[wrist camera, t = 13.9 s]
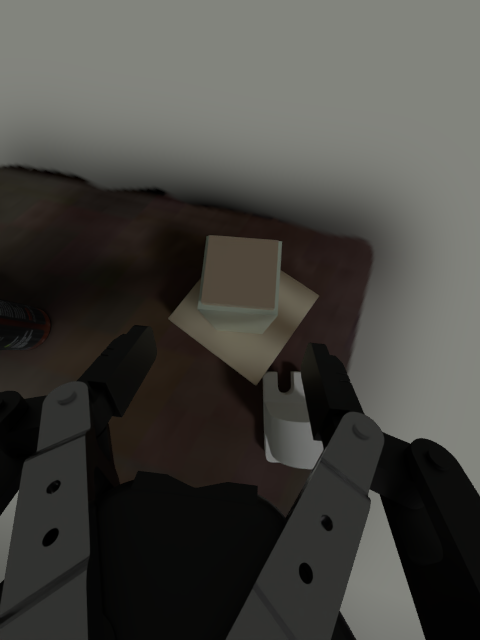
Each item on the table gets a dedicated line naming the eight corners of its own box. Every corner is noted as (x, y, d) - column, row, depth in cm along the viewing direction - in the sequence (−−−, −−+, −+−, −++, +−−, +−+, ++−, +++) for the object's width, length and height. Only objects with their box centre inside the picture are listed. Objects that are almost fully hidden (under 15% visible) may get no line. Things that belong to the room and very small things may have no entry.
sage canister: (262, 334, 23) (279, 313, 12) (216, 330, 23) (195, 306, 13) (265, 290, 24) (283, 236, 13) (220, 286, 24) (205, 230, 13)
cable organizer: (264, 454, 26) (276, 512, 16) (262, 371, 28) (272, 378, 18) (307, 454, 26) (346, 513, 16) (303, 371, 28) (335, 378, 18)
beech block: (253, 379, 28) (256, 385, 22) (183, 326, 29) (168, 318, 23) (304, 308, 29) (319, 295, 24) (235, 261, 31) (232, 238, 25)
